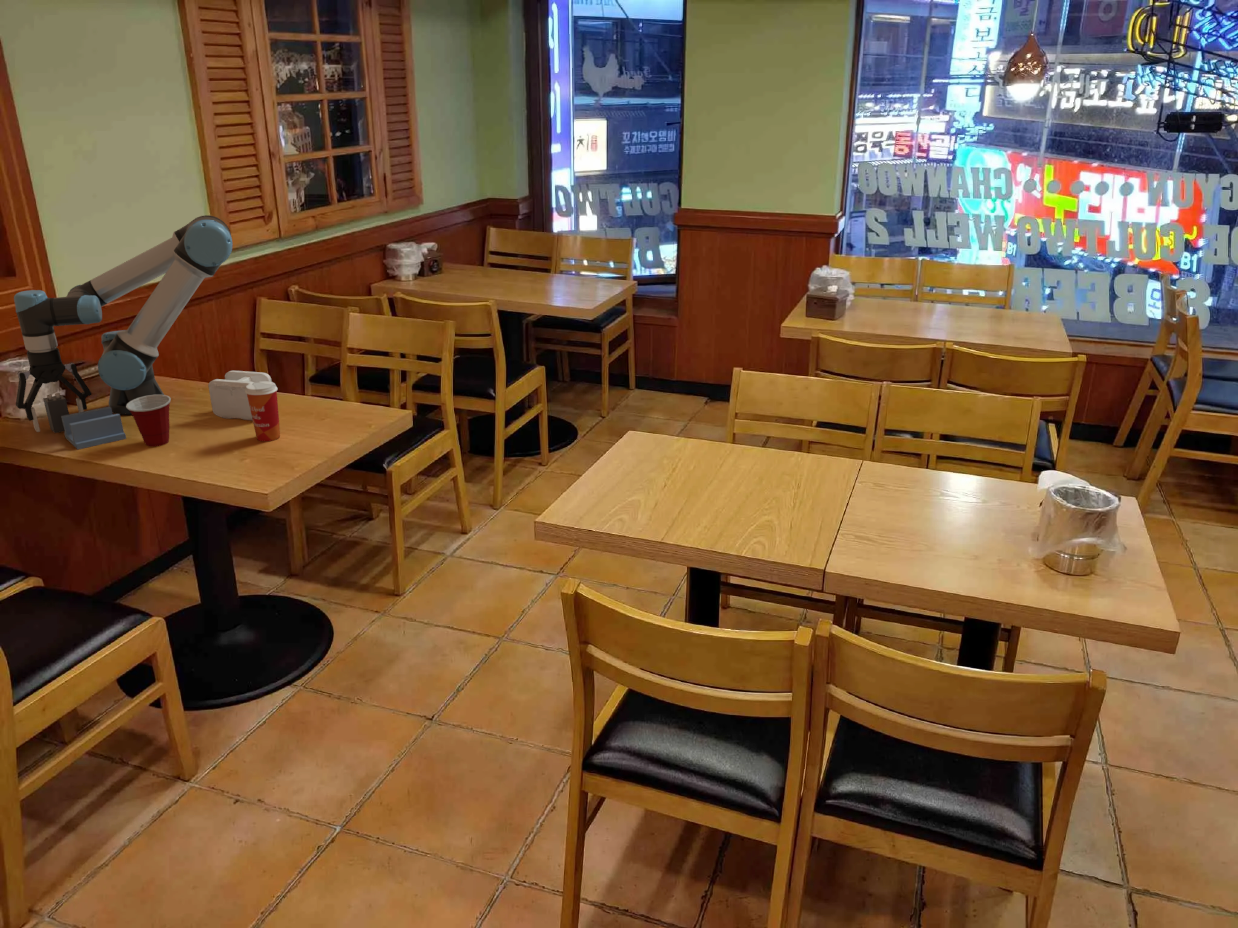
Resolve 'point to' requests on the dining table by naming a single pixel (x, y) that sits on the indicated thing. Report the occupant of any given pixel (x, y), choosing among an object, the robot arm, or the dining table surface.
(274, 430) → the coffee cup
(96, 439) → the holder
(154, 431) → the plastic cup
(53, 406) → the plug
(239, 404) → the cable organizer
